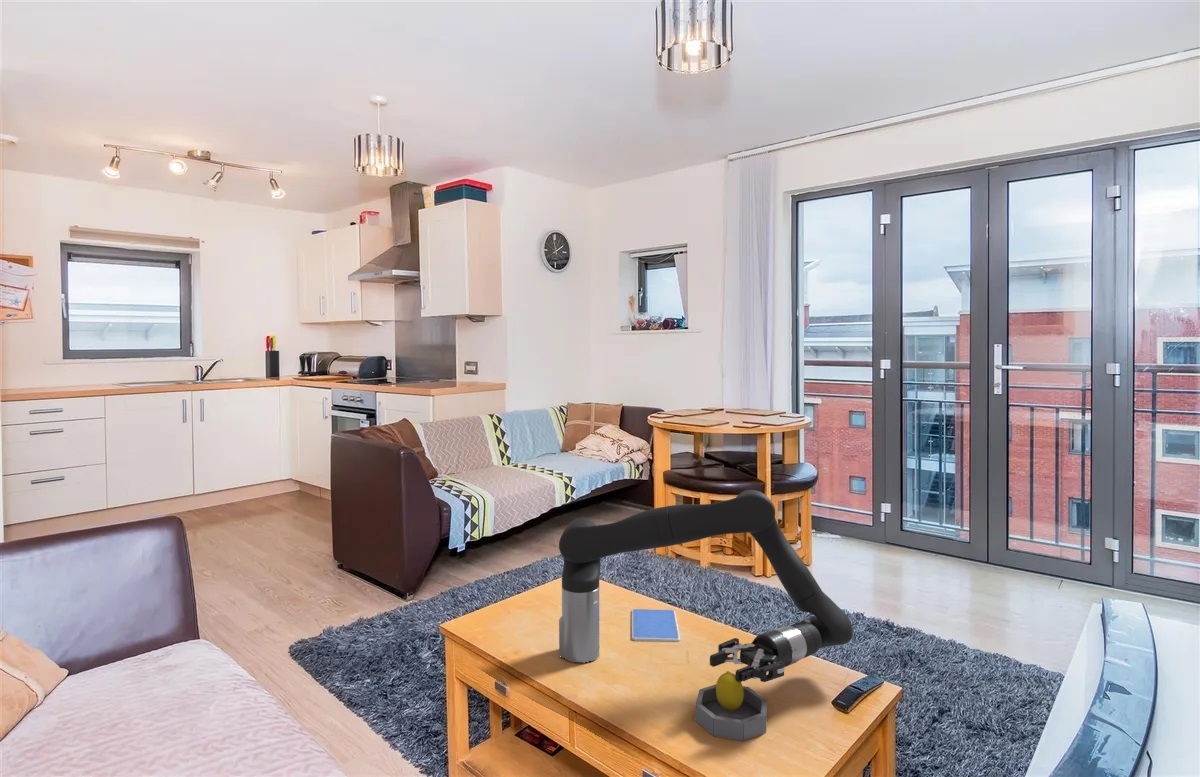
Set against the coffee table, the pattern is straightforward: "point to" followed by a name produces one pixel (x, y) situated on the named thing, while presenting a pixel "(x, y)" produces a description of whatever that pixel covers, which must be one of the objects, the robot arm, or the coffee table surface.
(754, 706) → the bowl
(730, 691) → the lemon
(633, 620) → the tablet computer
